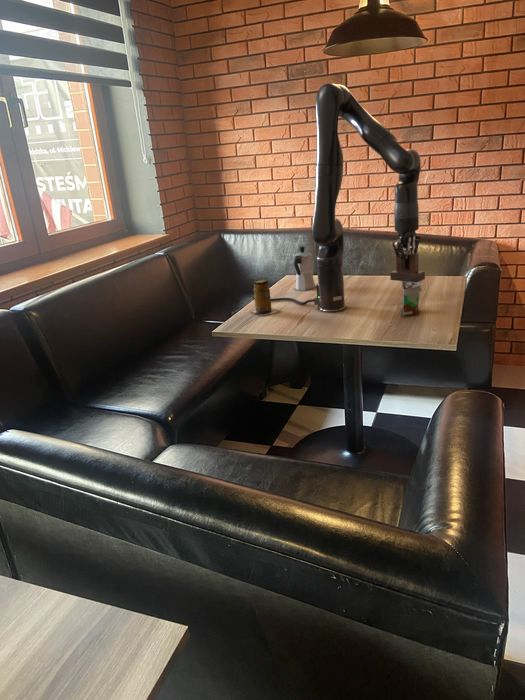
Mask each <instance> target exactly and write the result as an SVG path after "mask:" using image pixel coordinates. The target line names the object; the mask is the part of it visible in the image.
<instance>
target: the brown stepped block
mask: <svg viewBox="0 0 525 700" xmlns="http://www.w3.org/2000/svg"><path fill="white" fill-rule="evenodd" d="M399 254H400V253H399ZM395 263H396V265H395V266H396V269H394V270H392V271H390V272H389V273H390V276H389V277H390V279H389V280H390V281H399V282H402V281H406V282H416V283H417V282H418V283H420V282H422V281H423V280H425V279H426V271H425V270H419V253H408V269H407V270H402V269H401V258H397V256H395Z"/></svg>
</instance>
